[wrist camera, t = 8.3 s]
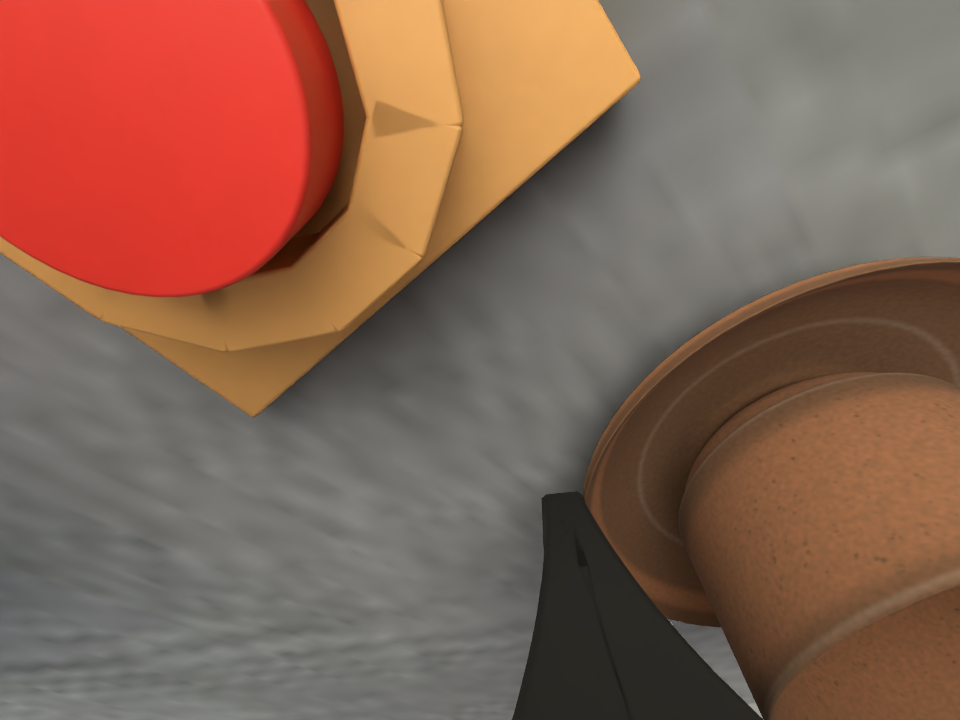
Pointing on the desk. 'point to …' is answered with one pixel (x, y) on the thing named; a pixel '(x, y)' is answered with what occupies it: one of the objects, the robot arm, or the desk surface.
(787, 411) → the cup and saucer
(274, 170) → the button
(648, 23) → the desk surface
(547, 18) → the box
